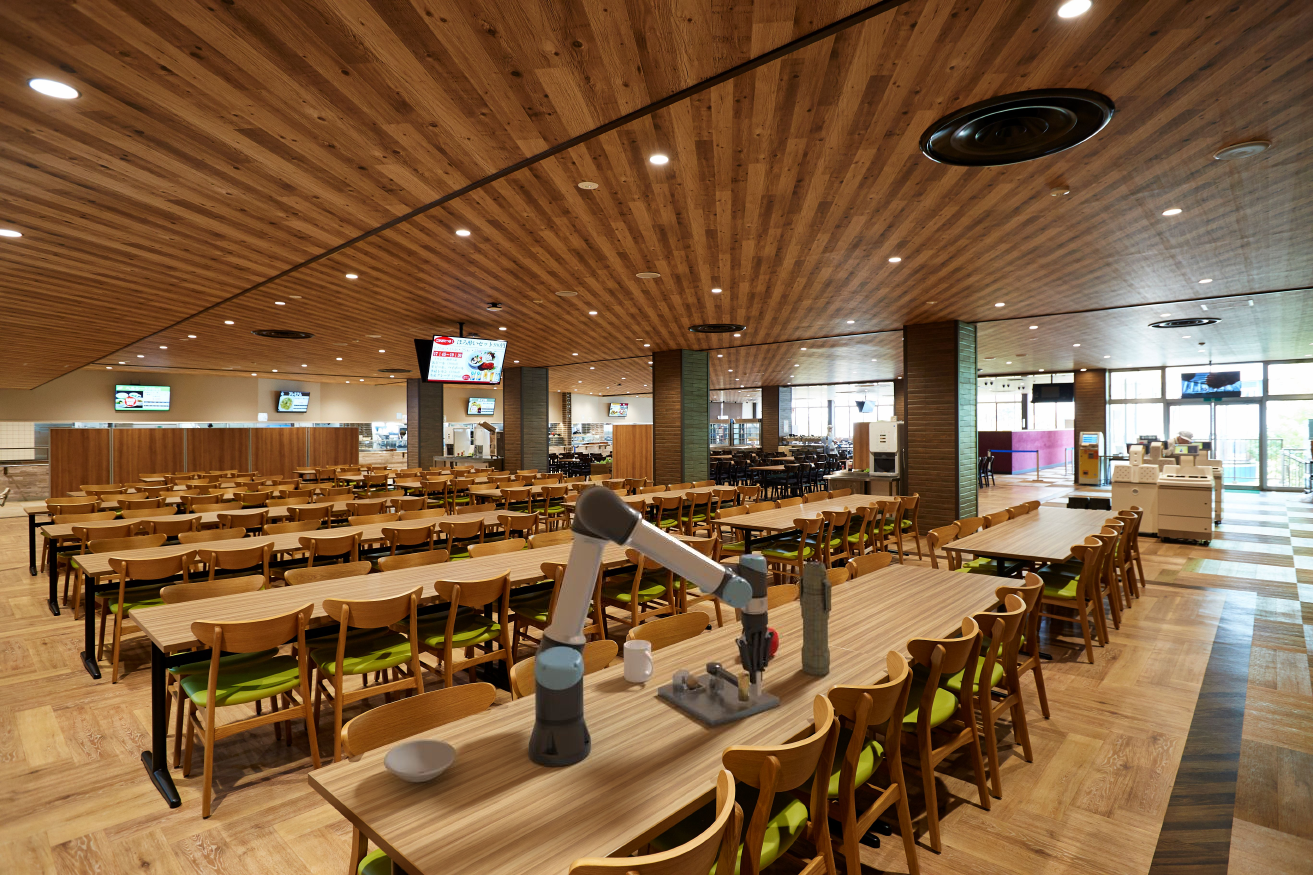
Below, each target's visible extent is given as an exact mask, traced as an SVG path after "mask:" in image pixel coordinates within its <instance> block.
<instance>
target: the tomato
mask: <svg viewBox="0 0 1313 875" xmlns="http://www.w3.org/2000/svg"><path fill="white" fill-rule="evenodd" d="M770 627H771V626H768V627H767V628H768V630H769V631H771V632H774V636H773V638H772V641H771V648H770V655H769V657H771V656H773V655H775V654H776V653H777V651H778V649H779V646H780V642H779V641H780V640H779V639H780V638H779V634H778V632H777V631H776V630H775V629H774V628H770ZM745 641H746V640H745Z"/></svg>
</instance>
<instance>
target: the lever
mask: <svg viewBox="0 0 1313 875" xmlns="http://www.w3.org/2000/svg"><path fill="white" fill-rule="evenodd" d="M705 668H706V669H705V671H706V674H708V673H709V674H716V675H718V676H715V688H716V689H717V690H719V691H721V690H724V679H725V680H726V681H728V682H729V683H731V684H733V685H734V686H736V687H738V700H739V701H742V702H747V701H749V684H750V681H749V673H746V672H740V673H738V674H737V675H735V674H733V673H732V672H730V671H729V670H726V669H725V668H723V664H722V663H720V662H715V661H714V662H713V661H711V662H708V663H706V665H705Z"/></svg>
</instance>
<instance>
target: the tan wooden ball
mask: <svg viewBox="0 0 1313 875" xmlns="http://www.w3.org/2000/svg"><path fill="white" fill-rule="evenodd" d="M686 685H687V687H688V688H690V689H695V688H697V687H698V685H699V679H698V676H697V675H696V674H689V676H688V677H687V678H686Z"/></svg>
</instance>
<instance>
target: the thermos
mask: <svg viewBox="0 0 1313 875" xmlns="http://www.w3.org/2000/svg"><path fill="white" fill-rule="evenodd" d="M798 580H799V582H798V583H799V584H798V585H799V587H798V588H799V590H798V591H799V592H798V594H799V606H800V609H801V610H800V612H801V614H800V616H801V618H802V643H803V644H802V647H801V665H802V666H801V671H802V672H803V673H804V674H806V675H808V676H813V677H825V676H828V675H829V674H830V665H831V651H830V648H829V622H828V621H829V620H830V612H831V611H832V583H831V581H830V580H829V579H828V572H827V569H826V566H825V564H824V563H823V562H820V561H808V562H806V563H805V564H804V567H803V569H802V574H801V575H800V577H799V578H798Z"/></svg>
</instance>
